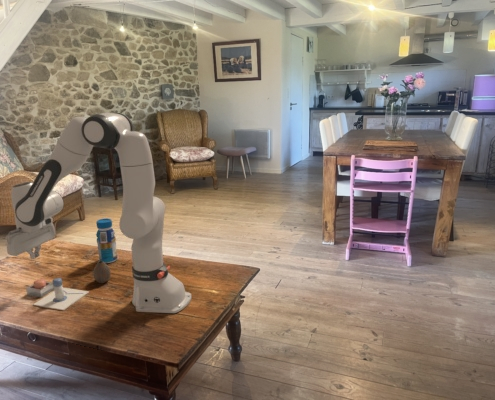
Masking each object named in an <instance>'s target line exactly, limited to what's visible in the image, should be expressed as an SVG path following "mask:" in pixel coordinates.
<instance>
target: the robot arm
mask: <svg viewBox="0 0 495 400" xmlns="http://www.w3.org/2000/svg"><path fill="white" fill-rule="evenodd" d="M94 147H97V148H103V149H106V150H110V151H112V150H114V149H115V151H116V152H117V155H118V158H119V159H118V160H119V166H120V167H119V168H120V174H121V180H122V190H123V191H122V192H123V193H122V195H123V196H122V205H121V207H122V210H121V216H120V219H119V222H118V226H119V230H120V232H121V234H122V235H124V237H127V238H128V239H132V243H131V248H130V251H131V258H132V259H131V260H132V267H131V271H132V277H133V294H132V300H131V303H132V305H133V306H134V308H135V311H136V312H138V313H139V312H140V313H160V314H176V313H178V312H181V311H182V310H184V309H185V308H186V307H187V306H188V305H189V304H190V302H191V301H192V293H190V292H188V291H186V289H185V285H184V283H183V282H182V281H180V280H179V279H178V278H176V277H175V276H174V275H172V274H171V273H169V270H170V268H171V266H170V265H168V266H166V264H165V262H164V256H163V255H164V254H163V236H164V224H165V223H164V222H165V214H166V205H165V203H164V201H163V199H161V198H159V197H157V196H154V194H155V193H154V192H155V187H156V177H155V170H154V162H153V156H152V150H151V148H150V144H149V141H148V138H147V136H146V135H145V134H144V133H143V132H140V131H135V130H134V124H133V121H132V119H130V117H128V115H125V114H124V113H121V112H102V113H99V114H98V113H97V114H95V113H94V114H92V115H90V116H88V117H84V116H74V117H73V118H71V119H70V120H69V121H68V123H67V124H66V126H65V127H64V129H63V130H62V132H61V134H60V136H59V138H58V140H57V142H56V143H55V146H54V148H53V150H52V152H51V154H50V155H49V157H48V158H47V160H46V162H45V163H44V165H43V166H42V168H41V169H40V170H39V172H38V174H37V175H36V176H35V177H36V178H34V181H26V182H21V183H18V184H16V185H13V186H12V187H11V189H10V190H11V191H10V196H11V197H10V198H11V205H12V210H13V211H14V222H15V227H16V228H15V229H13V230H11V231H8V234H6V236H5V237H6V251H7V254H8V255H9V256H13V257H18V256H19V255H22V254H24V253H27V254H28V255H29V258H30V259H31V260H34V259H36V258H38V257H40V255H41V254H40V252H41V248H42V245H43V244H45V243H47V242H50V241H52V240H54V239H55V238H56V228H55V225H54V223H53V222H54V219H53V216H56V215H57V214H59V213H61V212H62V211H63V209H64V207H65V203H64V198H63V196H61V194H60V193H59V192H57V191H55V190H54V188H55V187H56V185H57V184H58V183H59V182H60V181H62V180H63V179H64V178H66V177H67V176H69V175H71V174H72V173H74V172H77V171H79V169H81V168H82V167H83V165H84V164H85V163H86V162H87V160H88V158H89V156H90V155H91V152H92V150H93V148H94Z"/></svg>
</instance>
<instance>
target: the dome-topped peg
mask: <svg viewBox="0 0 495 400" xmlns="http://www.w3.org/2000/svg"><path fill="white" fill-rule="evenodd" d="M52 282H53V286H54V290H53V291H54V292H55V298H56V301H61V300H63V299H64V292H63V288H64V287H63V278H61V277H56V278H53V280H52Z"/></svg>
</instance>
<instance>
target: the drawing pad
mask: <svg viewBox="0 0 495 400" xmlns="http://www.w3.org/2000/svg"><path fill="white" fill-rule="evenodd" d="M63 292H64V299H63V300H61V301H56V298H55V292H54V290H53V291H51V292H50V293H48V294H46V295H45V296H43V297H42V298H41V299H39V300H38V301H36V302H35V303H33V306H36V307H40V308H41V307H42V308H48V309H53V310H58V311H63V312H64V311H65V310H67V309H68V308H70V307H71V306H72V305H74V304H75V303H76V302H78V301H79V300H81V299H82V298H84V297H85V296H86V295H88V294H89V293H90V291H88V290H81V289H76V288H69V287H63Z"/></svg>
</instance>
